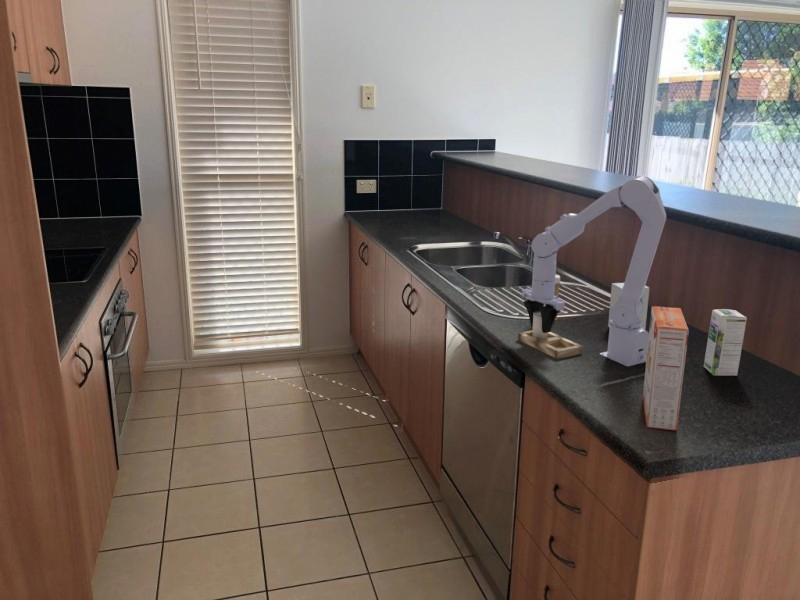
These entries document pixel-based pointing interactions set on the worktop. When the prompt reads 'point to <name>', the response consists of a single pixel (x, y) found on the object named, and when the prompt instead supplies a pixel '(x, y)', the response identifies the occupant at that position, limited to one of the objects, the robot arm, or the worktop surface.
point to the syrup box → (725, 342)
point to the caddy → (552, 344)
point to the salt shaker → (538, 326)
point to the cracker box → (664, 367)
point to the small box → (615, 294)
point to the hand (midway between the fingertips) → (540, 329)
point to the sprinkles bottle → (556, 288)
